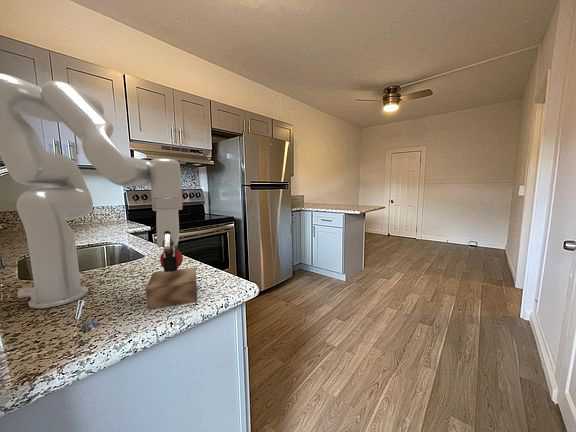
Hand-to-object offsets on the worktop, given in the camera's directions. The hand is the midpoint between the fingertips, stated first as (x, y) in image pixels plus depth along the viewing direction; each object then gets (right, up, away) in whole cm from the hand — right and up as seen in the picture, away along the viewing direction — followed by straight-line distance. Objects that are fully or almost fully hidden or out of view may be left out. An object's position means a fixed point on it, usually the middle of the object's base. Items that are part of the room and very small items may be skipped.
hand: (171, 266), depth 70 cm
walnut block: (0, -9, +1) cm, 9 cm away
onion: (0, -2, 0) cm, 2 cm away
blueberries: (-13, -11, -14) cm, 22 cm away
